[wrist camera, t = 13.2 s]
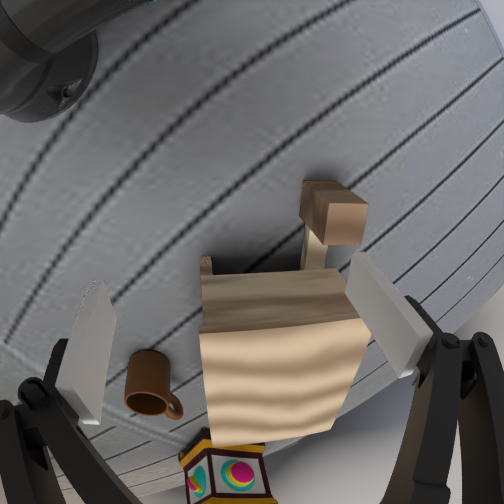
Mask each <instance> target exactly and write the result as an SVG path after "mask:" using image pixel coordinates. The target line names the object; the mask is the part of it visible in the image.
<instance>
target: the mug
mask: <svg viewBox="0 0 504 504" xmlns="http://www.w3.org/2000/svg"><path fill="white" fill-rule="evenodd" d="M124 401H125V404H126V406H127V407H128V408H129V409H130V410H131V411H133V412H135V413H137V414H140V415H145V416H158V415H161V414H164V413H165V414H166V415H167V416H168V417H169V418H171V419H174V420H178V419H180V418H181V417H182V415H183V408H182V405H181V403H180V401H179V400H178V398H177V397H176V396H175V395H173V394H172V393H171V392H170V364H169V361H168V360H167V359H166V358H165V357H164V356H163V355H162V354H160V353H158V352H155V351H149V350H144V351H139V352H137V353H135V354H134V355H132V357H131V358H130V361H129V366H128V372H127V378H126V385H125V398H124ZM169 403H171V404H172V406H173V408H174V410H173V409H172V408H171V407H170V406H169Z"/></svg>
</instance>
